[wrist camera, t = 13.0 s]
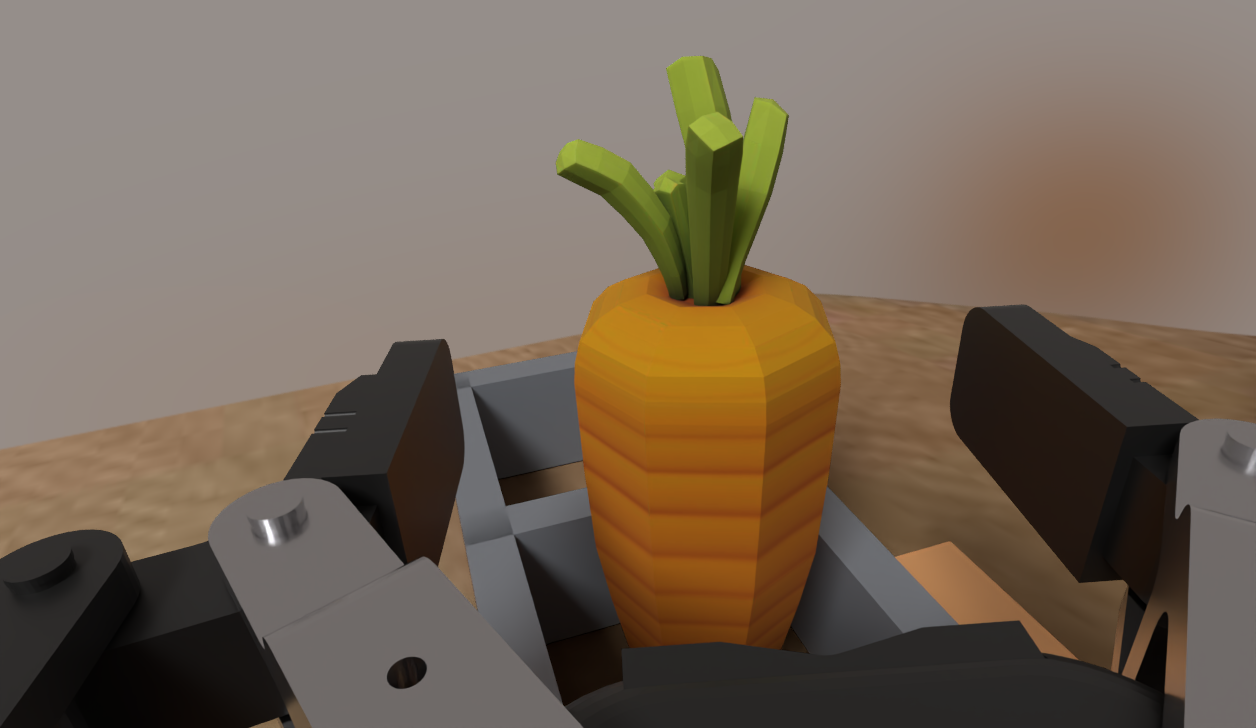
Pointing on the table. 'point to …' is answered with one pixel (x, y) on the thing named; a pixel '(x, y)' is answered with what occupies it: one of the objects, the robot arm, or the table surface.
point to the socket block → (570, 565)
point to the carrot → (704, 389)
